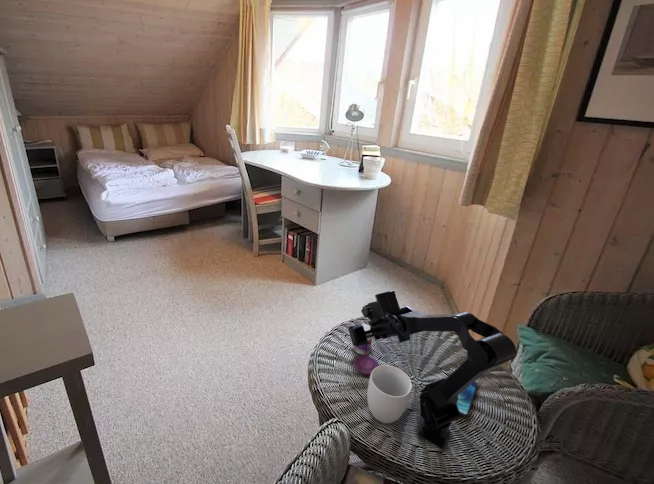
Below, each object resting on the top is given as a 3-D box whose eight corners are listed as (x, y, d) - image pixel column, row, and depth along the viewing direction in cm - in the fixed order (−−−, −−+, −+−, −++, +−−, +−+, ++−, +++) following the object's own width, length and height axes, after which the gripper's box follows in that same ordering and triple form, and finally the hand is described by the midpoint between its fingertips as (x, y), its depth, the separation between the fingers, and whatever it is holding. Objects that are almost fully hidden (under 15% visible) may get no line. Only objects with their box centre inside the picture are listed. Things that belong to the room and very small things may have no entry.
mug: (386, 384, 111) (394, 352, 105) (418, 409, 103) (428, 376, 97) (355, 410, 102) (362, 377, 96) (387, 438, 94) (396, 404, 89)
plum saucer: (371, 379, 112) (372, 377, 112) (349, 367, 116) (349, 364, 116) (382, 365, 118) (382, 362, 117) (360, 353, 122) (360, 351, 122)
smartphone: (477, 383, 111) (467, 416, 100) (477, 385, 111) (466, 418, 100) (452, 371, 115) (439, 401, 104) (451, 373, 115) (439, 404, 104)
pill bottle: (368, 357, 121) (373, 334, 117) (352, 352, 122) (356, 330, 118) (370, 346, 125) (374, 324, 121) (355, 342, 127) (358, 321, 123)
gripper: (404, 295, 113) (377, 303, 127) (355, 307, 106) (332, 314, 120) (416, 329, 110) (388, 334, 124) (367, 345, 103) (342, 348, 117)
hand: (363, 332), depth 121 cm, fingers open, 9 cm apart
